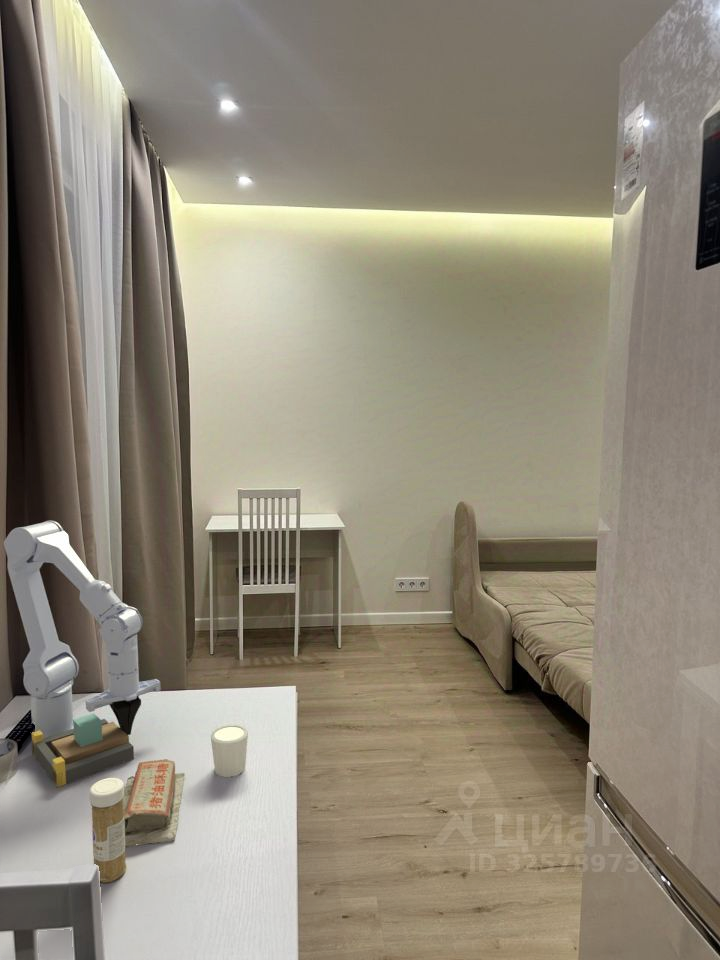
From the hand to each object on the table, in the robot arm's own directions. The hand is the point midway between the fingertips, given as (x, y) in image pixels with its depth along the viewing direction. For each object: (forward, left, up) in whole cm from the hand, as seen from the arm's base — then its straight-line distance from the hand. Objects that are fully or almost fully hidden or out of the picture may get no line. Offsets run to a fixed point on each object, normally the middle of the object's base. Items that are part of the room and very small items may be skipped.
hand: (125, 733), depth 128 cm
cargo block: (0, -7, +1) cm, 8 cm away
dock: (0, -9, -2) cm, 9 cm away
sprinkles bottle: (+35, -17, -2) cm, 39 cm away
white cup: (+23, +10, -2) cm, 25 cm away
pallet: (0, -7, -2) cm, 7 cm away
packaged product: (+25, -6, -2) cm, 26 cm away
